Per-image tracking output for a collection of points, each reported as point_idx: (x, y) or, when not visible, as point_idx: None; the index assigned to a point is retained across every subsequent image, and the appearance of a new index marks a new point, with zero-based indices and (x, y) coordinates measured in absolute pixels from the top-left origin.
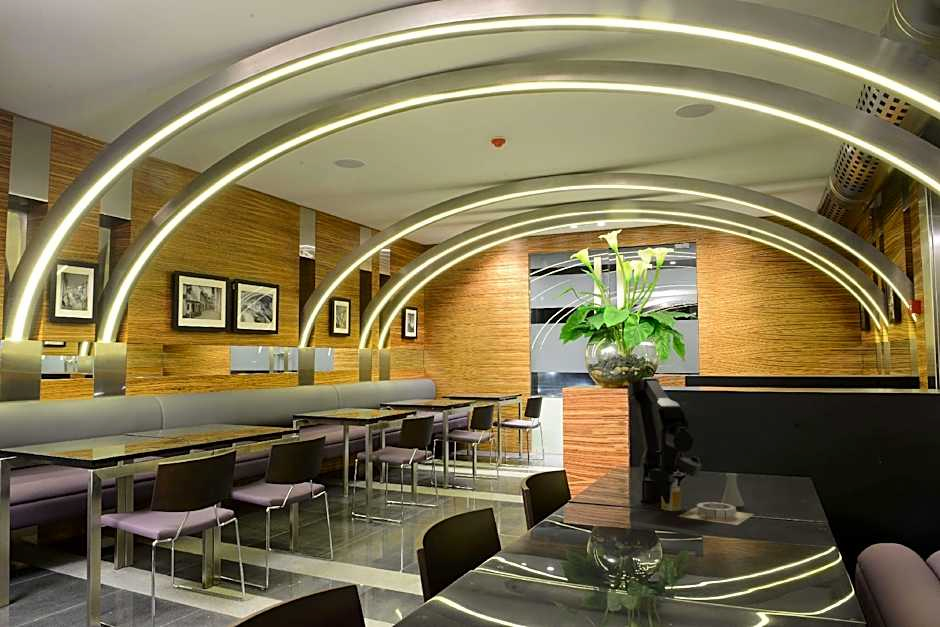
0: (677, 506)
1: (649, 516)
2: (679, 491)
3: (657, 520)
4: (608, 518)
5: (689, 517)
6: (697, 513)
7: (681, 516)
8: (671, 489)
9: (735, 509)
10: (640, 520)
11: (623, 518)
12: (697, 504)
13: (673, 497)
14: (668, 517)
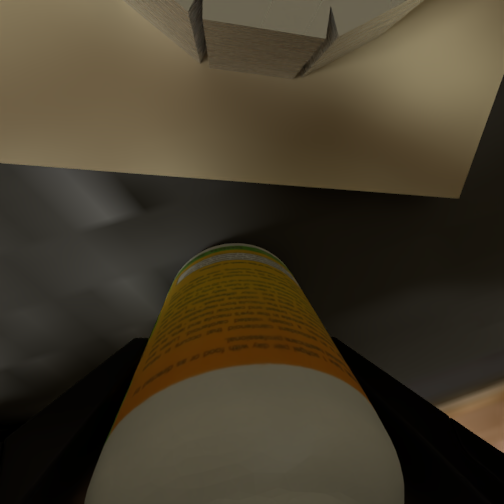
0: (279, 270)
1: (399, 349)
2: (276, 360)
3: (480, 288)
4: (493, 442)
5: (479, 101)
6: (324, 64)
7: (459, 172)
8: (397, 466)
9: None
10: (500, 348)
11: (478, 409)
12: (325, 28)
13: (333, 346)
14: (384, 266)
